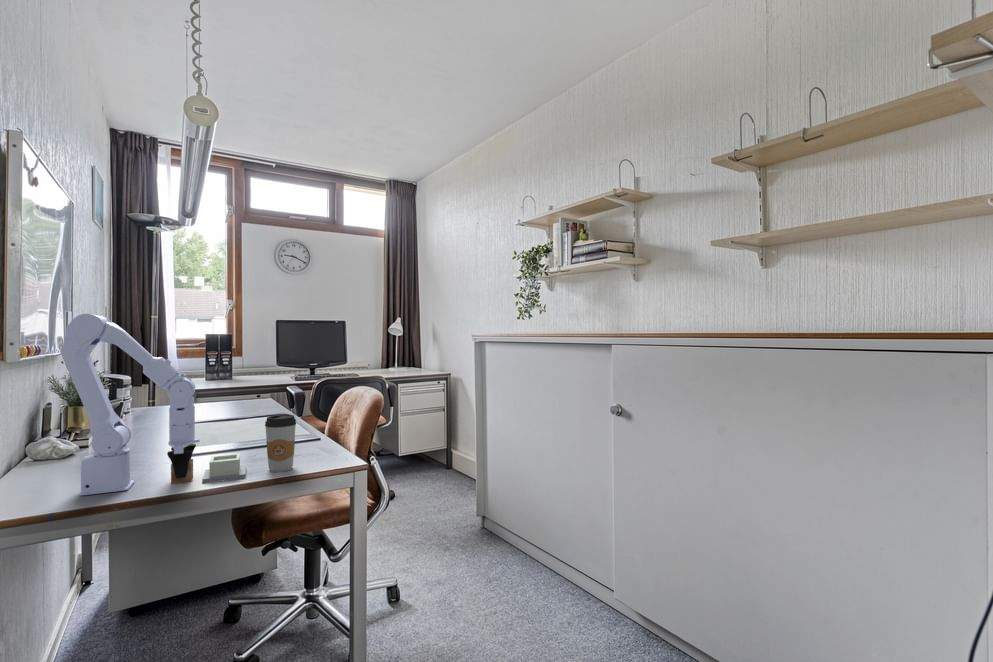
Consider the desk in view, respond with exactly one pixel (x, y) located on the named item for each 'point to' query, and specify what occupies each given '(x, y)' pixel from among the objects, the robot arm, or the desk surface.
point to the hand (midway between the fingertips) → (182, 475)
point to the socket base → (225, 477)
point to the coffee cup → (280, 442)
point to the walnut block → (188, 476)
